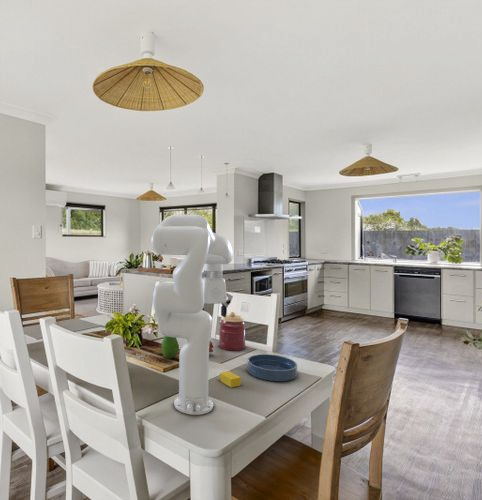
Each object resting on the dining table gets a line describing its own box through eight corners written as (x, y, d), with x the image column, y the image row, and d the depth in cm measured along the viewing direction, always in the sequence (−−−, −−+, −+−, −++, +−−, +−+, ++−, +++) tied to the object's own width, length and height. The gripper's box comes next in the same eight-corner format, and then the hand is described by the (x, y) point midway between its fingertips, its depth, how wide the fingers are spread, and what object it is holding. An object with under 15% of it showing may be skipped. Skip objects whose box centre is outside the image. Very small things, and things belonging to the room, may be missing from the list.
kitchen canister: (218, 350, 175) (219, 314, 174) (218, 342, 188) (219, 308, 187) (246, 351, 173) (247, 315, 172) (244, 343, 186) (245, 309, 185)
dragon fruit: (212, 355, 172) (197, 366, 163) (199, 342, 175) (184, 352, 167) (220, 344, 167) (206, 354, 158) (207, 331, 171) (192, 340, 162)
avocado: (159, 360, 160) (159, 333, 160) (163, 354, 168) (163, 329, 167) (177, 361, 158) (177, 334, 158) (180, 356, 166) (180, 330, 166)
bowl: (303, 383, 136) (303, 371, 136) (251, 381, 138) (251, 369, 138) (289, 365, 155) (289, 355, 155) (244, 363, 157) (244, 353, 157)
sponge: (240, 385, 134) (240, 377, 134) (230, 387, 132) (230, 379, 132) (229, 378, 140) (229, 371, 140) (219, 380, 138) (219, 372, 138)
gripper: (196, 276, 140) (196, 320, 141) (237, 275, 145) (236, 317, 145) (189, 274, 147) (189, 316, 148) (228, 273, 152) (227, 314, 153)
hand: (212, 317), depth 147 cm, fingers open, 9 cm apart
